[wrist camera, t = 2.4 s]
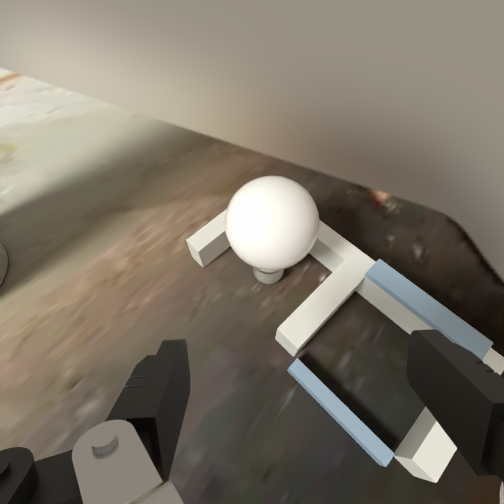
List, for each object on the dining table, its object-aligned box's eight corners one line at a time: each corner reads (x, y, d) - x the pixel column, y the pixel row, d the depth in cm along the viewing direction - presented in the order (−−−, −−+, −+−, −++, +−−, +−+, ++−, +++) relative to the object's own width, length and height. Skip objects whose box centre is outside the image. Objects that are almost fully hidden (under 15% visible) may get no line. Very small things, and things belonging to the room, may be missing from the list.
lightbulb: (299, 242, 29) (320, 153, 20) (307, 306, 26) (336, 236, 17) (232, 244, 29) (221, 156, 20) (232, 308, 26) (218, 240, 17)
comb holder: (183, 264, 28) (174, 244, 25) (265, 199, 32) (266, 174, 29) (404, 490, 20) (431, 501, 17) (481, 368, 24) (515, 359, 21)
